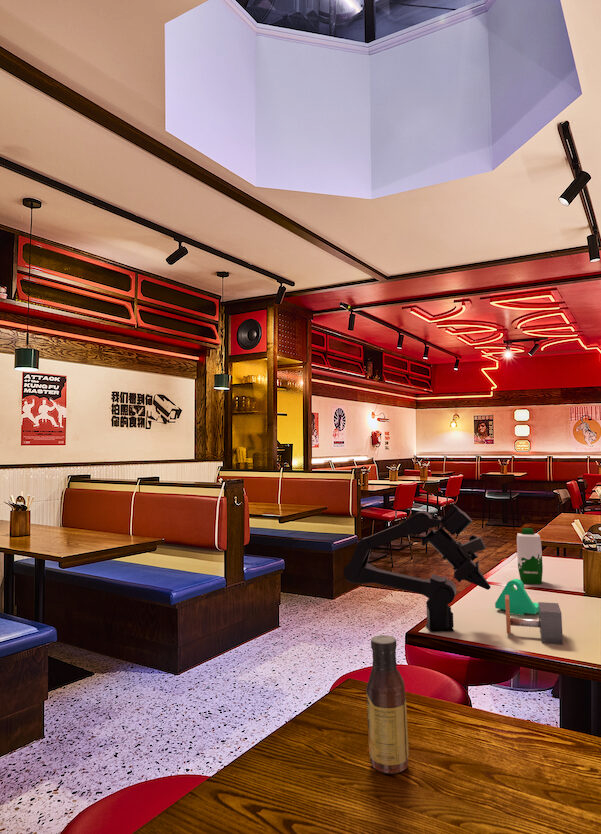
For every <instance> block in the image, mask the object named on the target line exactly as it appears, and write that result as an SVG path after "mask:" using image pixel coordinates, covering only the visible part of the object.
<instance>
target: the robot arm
mask: <svg viewBox="0 0 601 834" xmlns="http://www.w3.org/2000/svg"><path fill="white" fill-rule="evenodd" d="M441 523H442V525H441V526H440V527H438V526H439V525H440V524H441ZM472 523H473V520H472V518H471V517H470V516H469V515H468V514H467V513H466V512H465V511H463V510H462V509H460V508H459V507H458V506H457V505H455V504H453V505H452V506H451V507H450V508H449V509H448V511H447V512H445V514H444V515H443V516H436V515H432V514H431V513H429V512H428V511H426V510H419V511H417V512H416V513H415V514H413V515H411V516H410V517H409V518H407V519H405V520H404V521H403V522H401V523H399V524H396V525H394V526H392V527H389V528H386V529H384V530H382V531H379V532H377V533H374V534H372V535H370V536H367V537H366V536H365V537H363V538H361V539H359V540H358V542H357V543H356V548H355V550H354V553H352V554H353V555H352V556H351V557H350V558H351V559H350V560H349V561H350V562H349V563H348V564H347V565H345V567H344V568H343V576H344V578H345V580H346V581H347V582H348V583H350V584H360V585H361V584H364V585H365V584H377V585H380V586H385V587H386V586H387V587H390V588H395V589H398V590H403V591H408V592H411V593H416V594H420V595H422V596H424V597H426V598H428V599H426V602H425V603H426V604H425V605H426V623H425V627H426V628H427V629H428V631H430V632H431V633H447V632H448V633H449V632H451V633H452V632H455V629H454V613H453V612H452V607H451V606H450V604H451V603H452V602H453V601H454V599H455V597H456V594H457V587H456V584H455V583H454V582H453V581H452V580H450V579H449V578H448V576H440V575H437V574H433V573H432V574H431V577H430V578H420V577H418V576H417V577H416V576H412V575H408V574H402V573H398V572H394V571H389V570H385V569H381V568H377V567H376V566H374V565H372V564H371V563H369V562H368V561H369V559H370V554H371V550H373V549H375V548H379V547H380V546H384V545H385V544H388V543H390V542H393V541H396V540H398V539H400V538H402V537H407V536H413V535H414V536H415V535H419V534H422V535H421V536H420V538H421V546H422V547H425V546H426V544H428V543H429V544H430V545H431V546H432V547H433V548H434V549H435V550H436V551H437V552H438V553H439V554H440V555H441V558H442V559H443V560H444V561H445V560H446V561H447V562H448V563H449V565H451V567H452V569H453V570H454V571H453V575H454V576H453V578H454V579H455V580H456V581H457V582H458V583H460V582H462V581H466V582H469V583H471V584H473V585H476V586H478V587H481V588H483V589H485V590H488V591H489V590H490V589H491V585H490V583H489V582H488V580H487V579H486V577H485V576H484V574H483V573H482V571H481V570H480V561H479V560H476V559H478V558H479V555H478V554H477V552H481V551H484V550H486V544H485V542H484V540H483V538H482V536H476V535H475V534H472V535H470V536H468V538H469V539H468V541H466V542H465V543H462V542H461V541H458V540H457V541H456V539H454V538H453V536H454V535H457V536H460V534H461V533H462V532H463V531H464V530H466V528H468V526H470V524H472ZM437 527H438V528H437ZM431 528H433V529H431ZM434 528H437V529H434ZM430 529H431V530H430ZM429 530H430V531H429ZM428 531H429V532H428ZM427 532H428V533H427ZM423 533H427V534H426V535H423ZM475 560H476V561H475Z"/></svg>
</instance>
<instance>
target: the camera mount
mask: <svg viewBox="0 0 601 834" xmlns="http://www.w3.org/2000/svg"><path fill="white" fill-rule="evenodd" d="M515 586H516V588H515ZM505 595H509V605H510V613H513V614H512V615H517V614H520V615H519V616H524V615H526V614H531V615H536V614H537V613H539V606H538V602H533V601H532V599H531V597H530V596H529V594H528V593H527V591H526V589H525V584H523V582H522V581H521V580H520V578H514V579H512V580H509V581H508V582H507V583H506V585H505V587H504V588H503V590H502V591H501V593H500V594H499V596H498V597H497V600H496V601H495V603H494V605H495V606H494V607H495V609H497V610H504V611H506V606H505ZM525 613H526V614H525ZM523 614H524V615H523Z"/></svg>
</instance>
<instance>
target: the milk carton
mask: <svg viewBox="0 0 601 834" xmlns="http://www.w3.org/2000/svg"><path fill="white" fill-rule="evenodd" d="M521 529H522V530H521V533H519V532H517V535H516V552H517V553H516V554H517V569H518V574H519V580H521V581H522V582H523V584H524V585H525V584H528V585H542V584H543V582H542V581H543V571H544V570H543V568H544V565H543V551H542V549H543V547H542V539H541V536H540V534H539V533H534V528H532V527H531V528H529V527H522V528H521Z"/></svg>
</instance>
